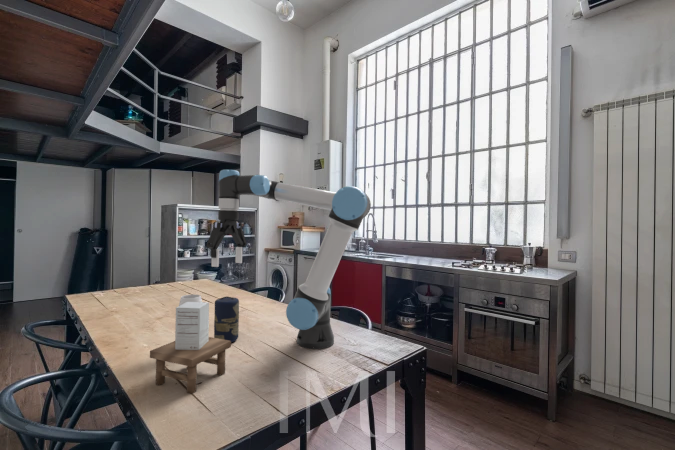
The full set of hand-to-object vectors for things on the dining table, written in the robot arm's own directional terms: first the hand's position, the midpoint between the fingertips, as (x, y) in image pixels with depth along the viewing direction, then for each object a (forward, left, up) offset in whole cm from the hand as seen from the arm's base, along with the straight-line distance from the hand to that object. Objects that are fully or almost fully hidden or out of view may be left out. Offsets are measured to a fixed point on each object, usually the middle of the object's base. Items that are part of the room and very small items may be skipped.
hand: (227, 264), depth 125 cm
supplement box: (-8, +25, -22) cm, 34 cm away
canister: (+4, -5, -32) cm, 33 cm away
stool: (-8, +25, -32) cm, 41 cm away
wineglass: (+7, +11, -32) cm, 34 cm away
